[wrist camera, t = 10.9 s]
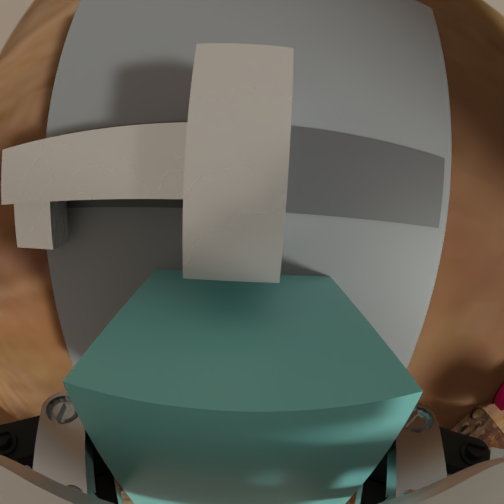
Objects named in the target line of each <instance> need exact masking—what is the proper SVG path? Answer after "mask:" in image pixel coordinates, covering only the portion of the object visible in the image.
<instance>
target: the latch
mask: <svg viewBox="0 0 504 504" xmlns="http://www.w3.org/2000/svg"><path fill="white" fill-rule="evenodd" d="M293 55H294V48H289V47H280V46H270V45H258V44H238V43H203V44H197V45H196V51H195V58H194V66H193V74H192V82H191V91H190V100H189V110H188V122H177V123H155V124H140V125H129V126H119V127H110V128H102V129H95V130H88V131H82V132H76V133H70V134H65V135H60V136H55V137H50V138H45V139H41V140H37V141H32V142H28V143H24V144H21V145H17V146H13V147H10V148H6V149H3V151H2V167H1V205H7V204H14V215H15V229H16V239H17V247H21V248H36V249H52V250H53V249H56V248H58V247H60V246H62V245H65V244H67V243H69V240H68V226H67V201H69V200H98V199H183V278H186V279H203V280H221V281H242V282H267V283H279V282H280V272H281V261H282V250H283V238H284V226H285V213H286V199H287V185H288V170H289V153H290V135H291V114H292V89H293Z"/></svg>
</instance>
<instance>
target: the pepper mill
mask: <svg viewBox="0 0 504 504" xmlns="http://www.w3.org/2000/svg"><path fill="white" fill-rule="evenodd" d="M494 403H495V405H496V406H497V407H498V408H499V409H500V410H504V383H503V384H502V386H501V387H500V389H499V391H498V393H497V395H496V397H495V400H494Z"/></svg>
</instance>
